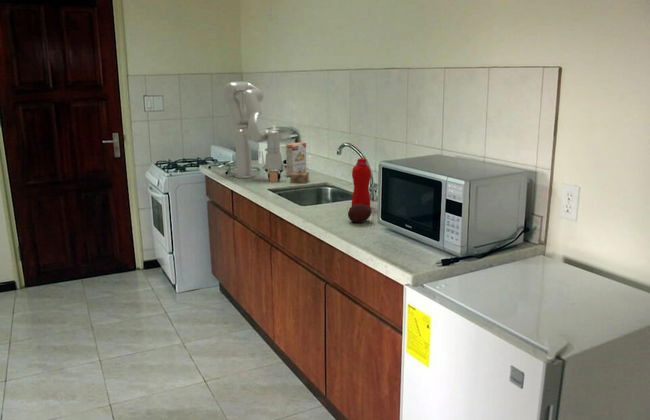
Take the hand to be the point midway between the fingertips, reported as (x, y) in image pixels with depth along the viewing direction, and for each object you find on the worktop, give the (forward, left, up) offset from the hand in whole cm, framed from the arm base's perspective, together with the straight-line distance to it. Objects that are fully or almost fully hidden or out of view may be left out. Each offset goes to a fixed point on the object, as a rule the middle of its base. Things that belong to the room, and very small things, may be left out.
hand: (274, 179), depth 330 cm
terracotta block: (0, 0, -1) cm, 1 cm away
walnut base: (+16, 0, -1) cm, 16 cm away
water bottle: (+55, -62, -1) cm, 83 cm away
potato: (+56, -87, -1) cm, 103 cm away
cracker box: (+11, +20, -1) cm, 23 cm away
